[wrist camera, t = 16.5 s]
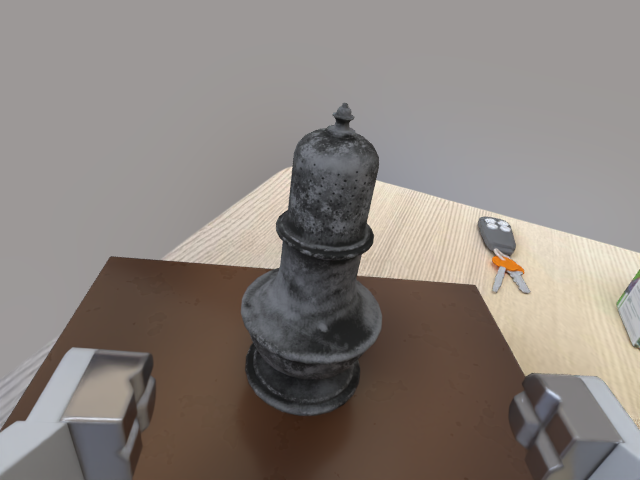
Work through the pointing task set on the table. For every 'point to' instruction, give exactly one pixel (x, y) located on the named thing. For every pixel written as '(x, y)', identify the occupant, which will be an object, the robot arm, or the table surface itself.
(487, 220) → the key chain
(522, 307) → the table surface
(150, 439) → the shelf
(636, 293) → the syrup box
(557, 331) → the table surface
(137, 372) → the robot arm
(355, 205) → the salt shaker
